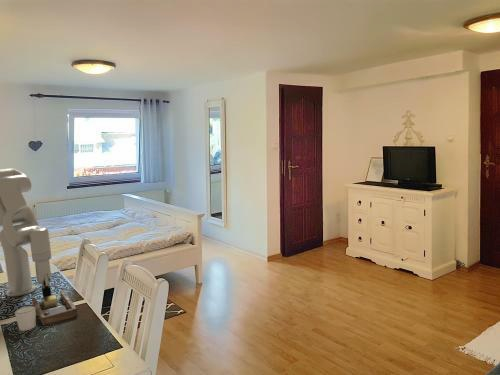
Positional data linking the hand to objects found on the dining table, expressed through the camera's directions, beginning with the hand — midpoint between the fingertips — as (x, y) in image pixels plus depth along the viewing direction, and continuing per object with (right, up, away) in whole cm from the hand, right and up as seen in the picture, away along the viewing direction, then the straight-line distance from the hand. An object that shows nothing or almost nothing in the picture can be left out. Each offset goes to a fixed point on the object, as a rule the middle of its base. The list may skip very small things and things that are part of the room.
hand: (47, 295), depth 180 cm
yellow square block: (+4, -2, -6) cm, 8 cm away
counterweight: (+14, -4, -19) cm, 24 cm away
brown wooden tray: (+9, -3, -12) cm, 15 cm away
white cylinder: (+6, -5, -27) cm, 28 cm away
